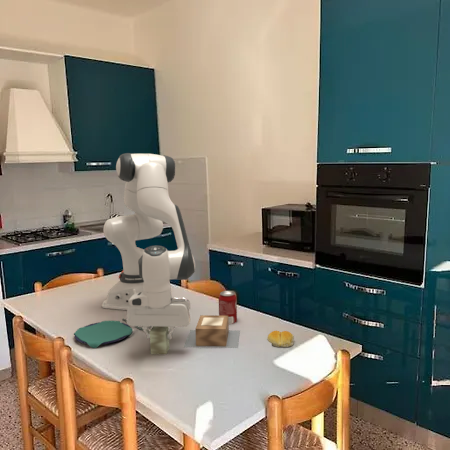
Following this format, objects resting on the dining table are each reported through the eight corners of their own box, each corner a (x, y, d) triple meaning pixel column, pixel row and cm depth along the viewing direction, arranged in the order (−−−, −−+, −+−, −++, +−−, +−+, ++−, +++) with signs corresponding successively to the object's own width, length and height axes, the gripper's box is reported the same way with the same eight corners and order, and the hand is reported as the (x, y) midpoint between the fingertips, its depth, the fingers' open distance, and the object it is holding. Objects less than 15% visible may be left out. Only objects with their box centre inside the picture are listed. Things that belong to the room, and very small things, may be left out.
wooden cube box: (196, 345, 144) (195, 328, 143) (201, 331, 156) (200, 314, 155) (226, 346, 143) (225, 328, 142) (228, 331, 155) (228, 315, 154)
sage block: (150, 355, 139) (149, 331, 138) (154, 348, 144) (153, 325, 142) (166, 355, 138) (165, 331, 137) (169, 348, 143) (168, 325, 142)
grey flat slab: (183, 349, 143) (183, 347, 143) (190, 332, 157) (190, 330, 157) (238, 350, 142) (238, 347, 142) (240, 333, 156) (240, 330, 156)
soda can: (235, 327, 161) (234, 296, 159) (217, 326, 162) (216, 295, 160) (238, 320, 168) (237, 290, 166) (221, 319, 169) (220, 289, 167)
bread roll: (269, 337, 152) (269, 326, 152) (294, 339, 150) (294, 328, 150) (265, 347, 145) (265, 335, 144) (292, 349, 142) (292, 338, 142)
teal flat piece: (65, 336, 157) (64, 330, 157) (137, 315, 177) (137, 310, 177) (90, 354, 143) (89, 347, 142) (165, 329, 163) (165, 323, 163)
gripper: (191, 294, 140) (192, 334, 143) (129, 293, 142) (132, 333, 144) (188, 301, 134) (189, 343, 136) (123, 300, 136) (126, 342, 138)
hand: (159, 338), depth 140 cm, fingers closed on sage block, 5 cm apart
